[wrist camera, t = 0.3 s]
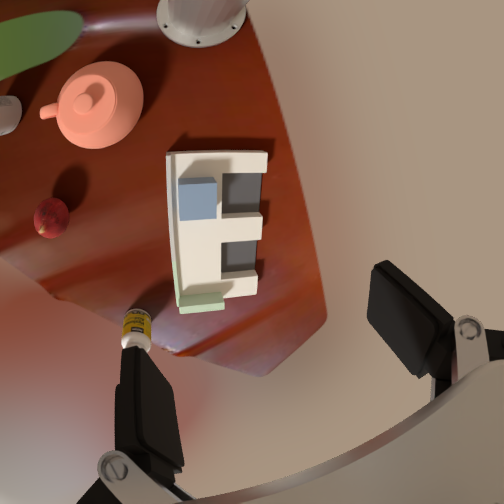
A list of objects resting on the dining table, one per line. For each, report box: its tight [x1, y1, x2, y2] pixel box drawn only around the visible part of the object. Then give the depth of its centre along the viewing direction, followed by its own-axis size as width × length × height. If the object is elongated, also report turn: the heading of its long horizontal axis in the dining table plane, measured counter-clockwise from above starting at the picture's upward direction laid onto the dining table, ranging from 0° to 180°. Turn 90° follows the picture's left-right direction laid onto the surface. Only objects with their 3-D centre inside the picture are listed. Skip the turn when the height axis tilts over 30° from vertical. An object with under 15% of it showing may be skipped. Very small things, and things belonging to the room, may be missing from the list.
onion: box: [34, 197, 69, 238], centre depth 32 cm, size 6×6×8 cm
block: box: [178, 177, 217, 221], centre depth 37 cm, size 5×5×4 cm
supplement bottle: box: [121, 309, 151, 353], centre depth 45 cm, size 5×5×10 cm
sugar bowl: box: [40, 61, 143, 149], centre depth 26 cm, size 12×14×10 cm
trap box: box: [166, 150, 268, 314], centre depth 42 cm, size 25×14×6 cm, turn 176°
